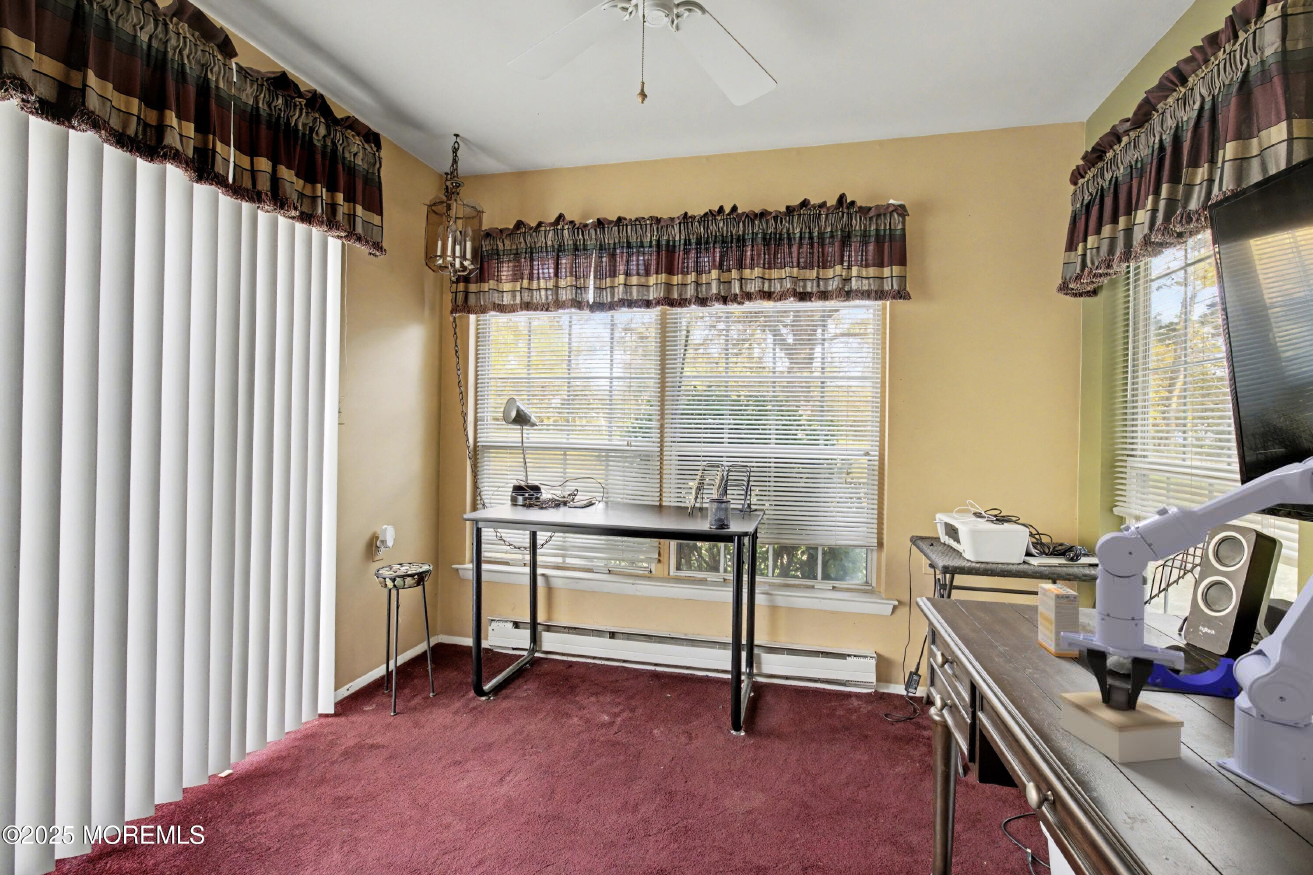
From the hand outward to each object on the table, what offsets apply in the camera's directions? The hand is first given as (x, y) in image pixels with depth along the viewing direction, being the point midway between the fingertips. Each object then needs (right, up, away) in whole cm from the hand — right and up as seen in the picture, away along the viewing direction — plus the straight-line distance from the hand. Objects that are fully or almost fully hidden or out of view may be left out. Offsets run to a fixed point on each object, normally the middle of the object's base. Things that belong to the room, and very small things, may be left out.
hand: (1118, 704), depth 90 cm
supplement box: (+15, -5, +36) cm, 40 cm away
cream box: (0, -6, 0) cm, 6 cm away
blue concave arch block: (+27, -6, +19) cm, 34 cm away
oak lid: (0, -1, 0) cm, 1 cm away
